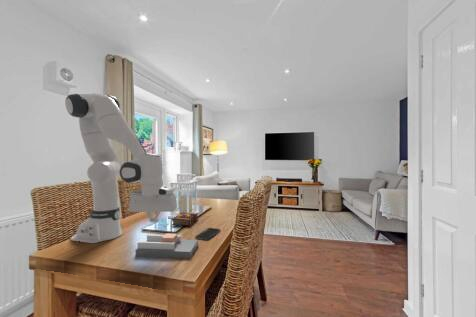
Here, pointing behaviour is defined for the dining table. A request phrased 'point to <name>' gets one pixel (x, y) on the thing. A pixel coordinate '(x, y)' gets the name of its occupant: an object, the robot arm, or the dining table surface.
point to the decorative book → (185, 219)
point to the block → (169, 238)
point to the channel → (166, 247)
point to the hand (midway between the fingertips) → (153, 221)
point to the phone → (207, 234)
